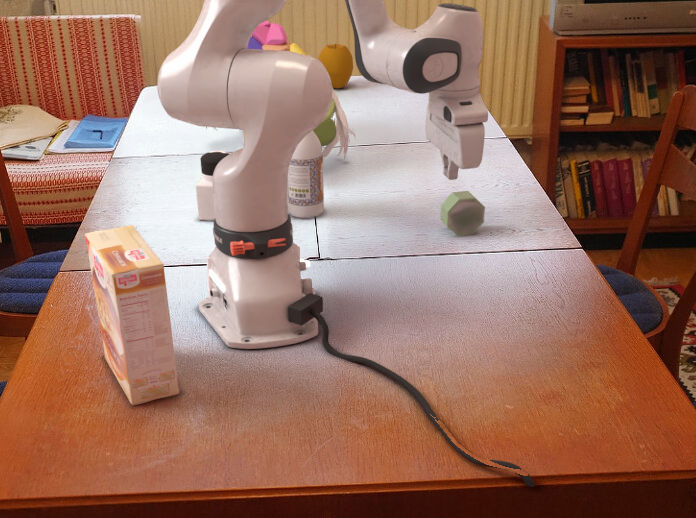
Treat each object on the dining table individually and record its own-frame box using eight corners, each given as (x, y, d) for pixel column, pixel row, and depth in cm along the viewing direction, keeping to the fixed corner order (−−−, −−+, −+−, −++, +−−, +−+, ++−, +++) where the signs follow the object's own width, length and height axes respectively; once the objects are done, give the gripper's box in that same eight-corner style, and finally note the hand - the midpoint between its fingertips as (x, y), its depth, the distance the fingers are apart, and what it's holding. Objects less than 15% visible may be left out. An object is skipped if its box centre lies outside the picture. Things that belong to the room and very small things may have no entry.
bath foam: (325, 218, 185) (322, 112, 174) (288, 219, 184) (284, 114, 174) (322, 205, 190) (320, 102, 180) (287, 206, 190) (283, 104, 180)
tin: (483, 233, 175) (485, 196, 172) (446, 237, 174) (448, 200, 171) (476, 225, 178) (478, 189, 175) (439, 230, 177) (441, 193, 174)
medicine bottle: (234, 222, 185) (229, 160, 178) (198, 220, 186) (192, 159, 180) (243, 208, 191) (239, 148, 184) (208, 207, 192) (203, 147, 186)
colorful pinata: (336, 98, 189) (249, -16, 202) (231, 200, 199) (154, 84, 211) (399, 149, 217) (319, 45, 229) (304, 236, 227) (233, 132, 239)
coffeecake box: (103, 357, 142) (82, 232, 131) (150, 347, 144) (134, 223, 134) (130, 407, 130) (110, 273, 119) (181, 394, 132) (165, 262, 122)
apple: (315, 92, 262) (314, 47, 256) (320, 83, 270) (319, 39, 264) (351, 92, 260) (350, 47, 254) (355, 83, 268) (355, 39, 262)
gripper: (417, 88, 179) (415, 161, 186) (456, 118, 162) (453, 197, 169) (450, 85, 180) (447, 157, 187) (492, 114, 163) (487, 193, 170)
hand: (450, 177), depth 178 cm, fingers closed
